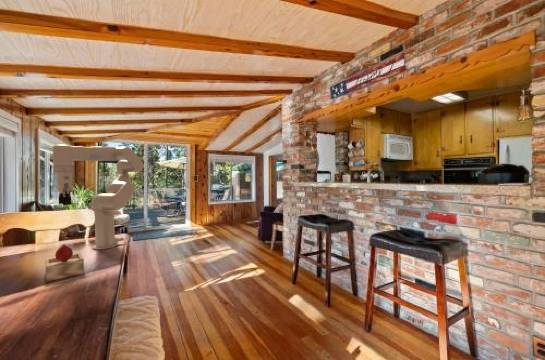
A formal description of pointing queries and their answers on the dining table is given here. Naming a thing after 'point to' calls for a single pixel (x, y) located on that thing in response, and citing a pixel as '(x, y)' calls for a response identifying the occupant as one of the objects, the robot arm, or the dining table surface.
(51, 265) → the beige square hollow tray
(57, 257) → the onion
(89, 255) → the dining table surface
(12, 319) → the dining table surface
